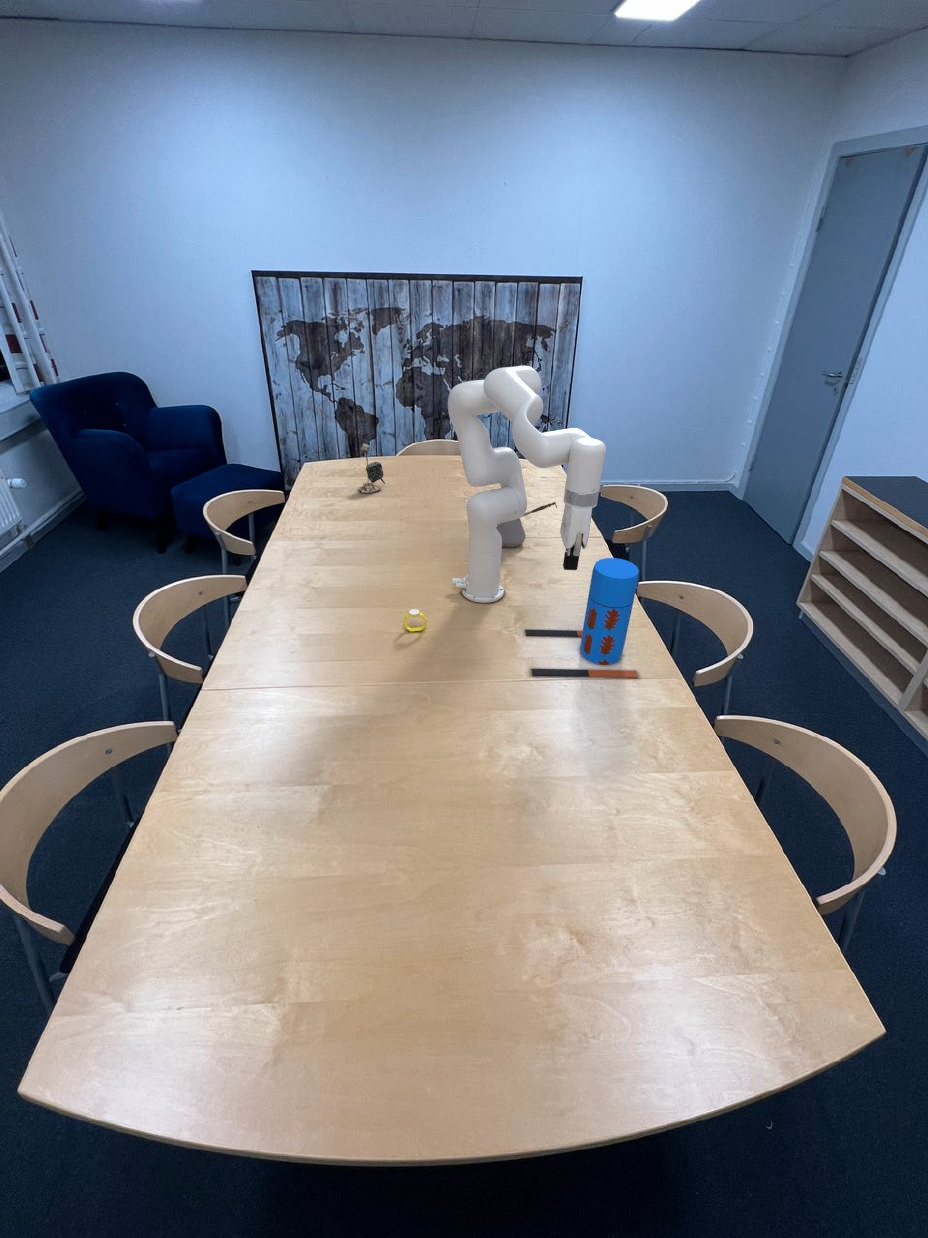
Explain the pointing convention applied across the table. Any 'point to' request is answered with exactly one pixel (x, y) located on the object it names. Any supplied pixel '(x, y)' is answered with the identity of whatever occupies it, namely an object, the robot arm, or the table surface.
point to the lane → (572, 671)
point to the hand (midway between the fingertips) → (569, 568)
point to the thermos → (608, 610)
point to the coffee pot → (515, 530)
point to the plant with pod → (371, 473)
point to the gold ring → (414, 613)
